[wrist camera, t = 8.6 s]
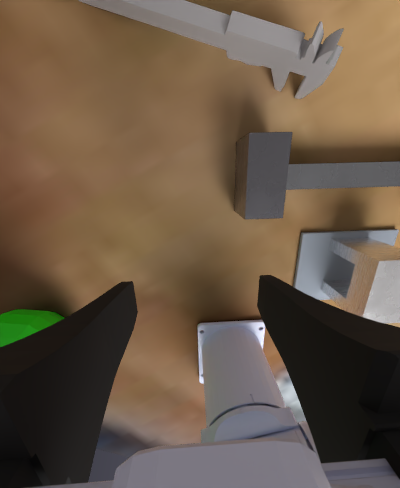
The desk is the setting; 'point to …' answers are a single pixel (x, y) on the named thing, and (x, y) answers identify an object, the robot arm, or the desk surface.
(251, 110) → the desk surface
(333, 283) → the white block
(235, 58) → the caliper
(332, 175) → the vise
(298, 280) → the mat
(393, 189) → the desk surface
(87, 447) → the robot arm
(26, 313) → the plastic bottle
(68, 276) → the desk surface
